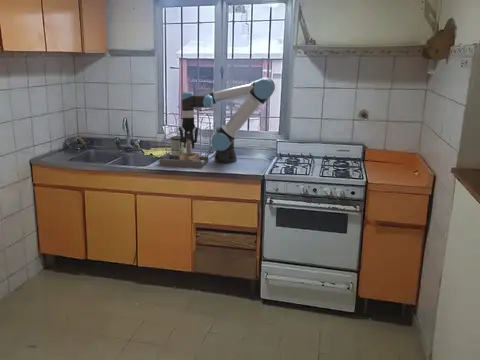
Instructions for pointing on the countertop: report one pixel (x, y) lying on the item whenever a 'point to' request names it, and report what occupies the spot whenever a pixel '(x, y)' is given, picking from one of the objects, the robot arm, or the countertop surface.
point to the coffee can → (177, 146)
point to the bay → (181, 161)
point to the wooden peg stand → (189, 152)
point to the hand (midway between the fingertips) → (189, 153)
